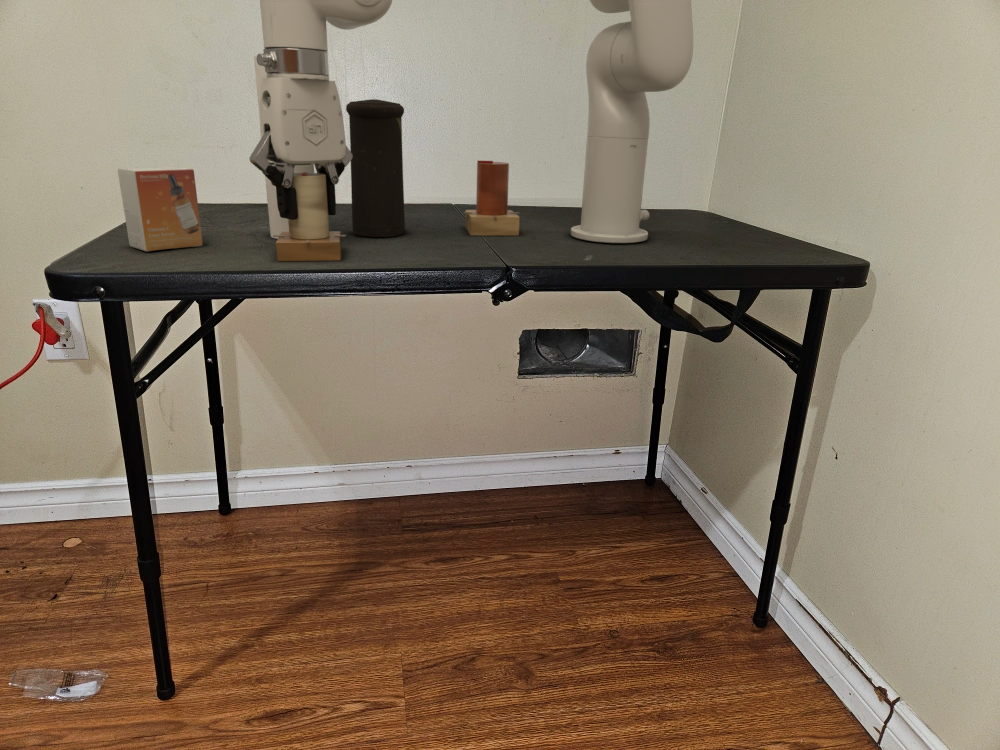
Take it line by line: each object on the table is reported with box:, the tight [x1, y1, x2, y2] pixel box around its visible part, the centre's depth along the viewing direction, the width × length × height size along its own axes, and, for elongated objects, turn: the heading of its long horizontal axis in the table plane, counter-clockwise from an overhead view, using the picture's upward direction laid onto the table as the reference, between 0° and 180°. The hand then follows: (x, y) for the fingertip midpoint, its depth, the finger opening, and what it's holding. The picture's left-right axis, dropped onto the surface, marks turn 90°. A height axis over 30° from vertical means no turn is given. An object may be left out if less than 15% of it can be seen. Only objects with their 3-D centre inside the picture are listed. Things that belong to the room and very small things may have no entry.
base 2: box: [463, 209, 521, 237], centre depth 114 cm, size 9×9×3 cm
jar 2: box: [475, 159, 510, 215], centre depth 112 cm, size 5×5×8 cm
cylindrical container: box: [253, 55, 315, 240], centre depth 101 cm, size 7×7×25 cm
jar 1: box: [288, 172, 330, 239], centre depth 90 cm, size 5×5×8 cm
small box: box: [117, 165, 203, 252], centre depth 93 cm, size 8×6×10 cm
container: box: [345, 98, 406, 238], centre depth 106 cm, size 9×9×20 cm
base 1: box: [273, 230, 346, 262], centre depth 92 cm, size 9×9×3 cm
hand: (308, 214), depth 90 cm, fingers closed on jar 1, 5 cm apart
